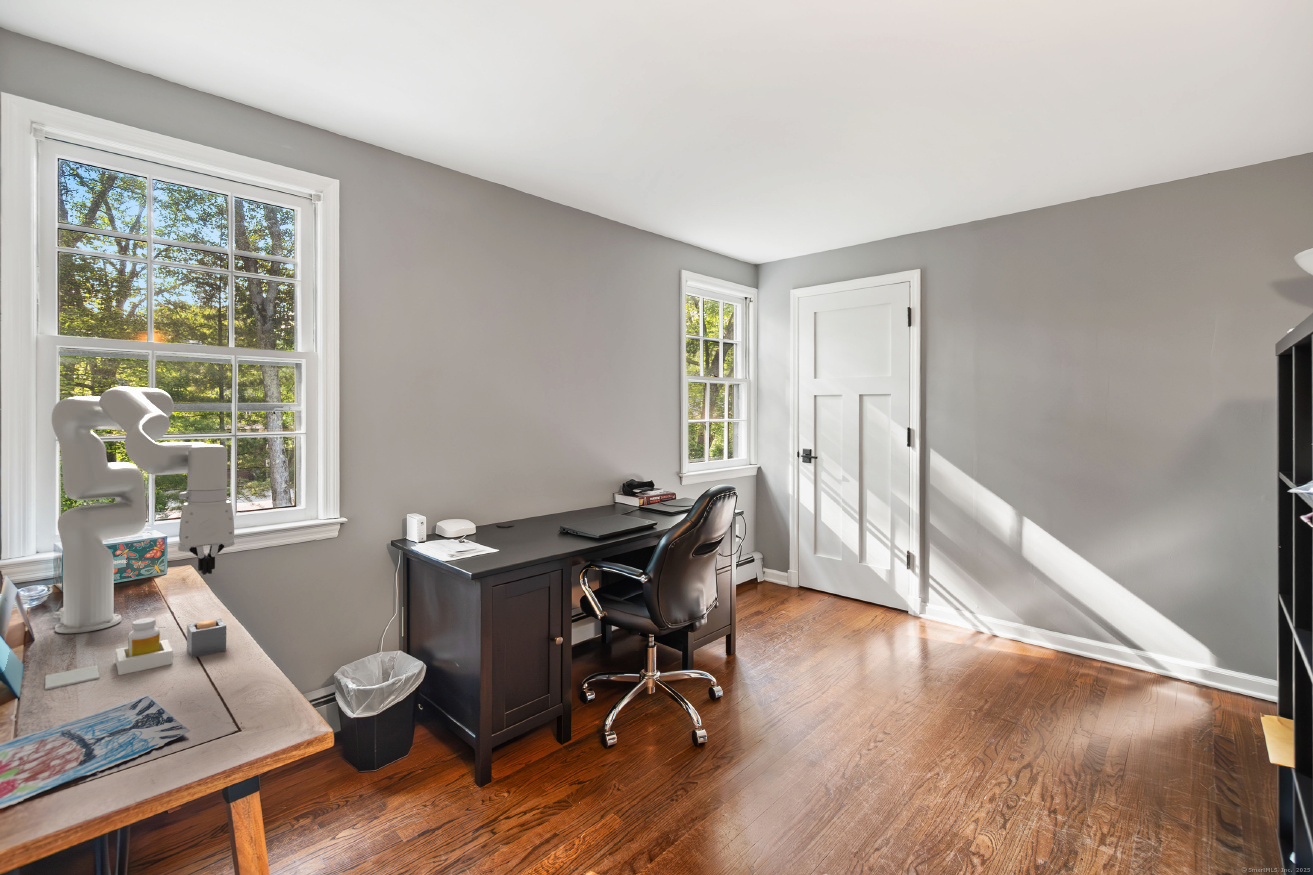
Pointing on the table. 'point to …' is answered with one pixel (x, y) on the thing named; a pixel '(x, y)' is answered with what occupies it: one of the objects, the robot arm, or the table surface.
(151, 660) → the collar
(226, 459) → the robot arm
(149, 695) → the table surface
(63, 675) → the mat
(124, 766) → the table surface
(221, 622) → the egg pedestal
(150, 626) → the supplement bottle
